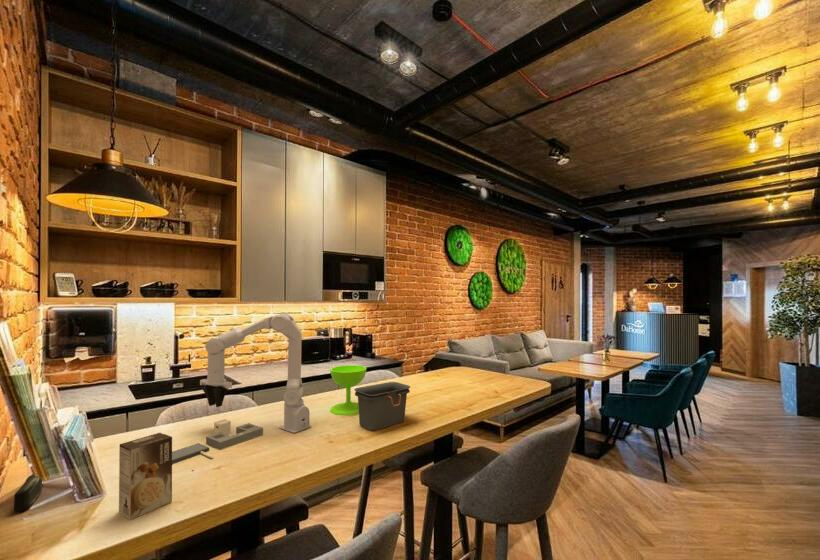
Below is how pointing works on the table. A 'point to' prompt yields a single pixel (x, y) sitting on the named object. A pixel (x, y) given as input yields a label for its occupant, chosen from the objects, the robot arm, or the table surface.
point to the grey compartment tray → (234, 436)
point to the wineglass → (347, 387)
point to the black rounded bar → (27, 493)
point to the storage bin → (381, 404)
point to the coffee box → (145, 474)
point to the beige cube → (222, 427)
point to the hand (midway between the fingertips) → (215, 405)
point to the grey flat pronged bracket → (190, 452)
